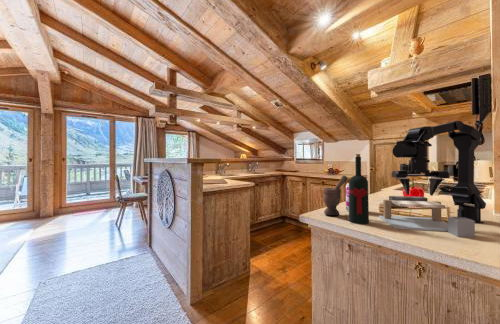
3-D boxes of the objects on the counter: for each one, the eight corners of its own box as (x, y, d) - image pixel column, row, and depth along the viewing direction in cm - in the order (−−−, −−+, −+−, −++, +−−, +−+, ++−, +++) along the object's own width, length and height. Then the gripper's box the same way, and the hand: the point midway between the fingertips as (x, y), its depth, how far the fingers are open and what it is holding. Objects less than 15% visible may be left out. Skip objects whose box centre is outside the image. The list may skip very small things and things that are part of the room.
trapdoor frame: (434, 219, 100) (434, 199, 100) (465, 232, 82) (464, 208, 82) (379, 217, 105) (378, 198, 105) (395, 228, 87) (395, 205, 87)
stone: (464, 233, 81) (464, 217, 81) (474, 238, 76) (474, 220, 76) (448, 232, 82) (448, 216, 82) (457, 237, 77) (457, 219, 77)
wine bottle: (349, 224, 93) (348, 153, 93) (348, 218, 102) (348, 154, 103) (370, 226, 90) (369, 153, 90) (367, 220, 99) (367, 154, 100)
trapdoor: (425, 204, 101) (425, 196, 101) (445, 211, 87) (445, 202, 87) (386, 203, 105) (386, 195, 105) (399, 209, 91) (399, 200, 91)
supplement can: (355, 213, 113) (355, 184, 113) (342, 210, 120) (342, 183, 120) (366, 212, 116) (366, 183, 116) (353, 209, 123) (353, 182, 124)
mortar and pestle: (346, 213, 114) (346, 174, 114) (348, 217, 106) (348, 175, 106) (323, 211, 118) (322, 174, 118) (323, 215, 109) (322, 175, 110)
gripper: (433, 157, 97) (434, 193, 97) (386, 158, 101) (386, 192, 101) (450, 157, 86) (450, 197, 86) (396, 157, 90) (397, 195, 90)
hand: (419, 195), depth 91 cm, fingers open, 8 cm apart
